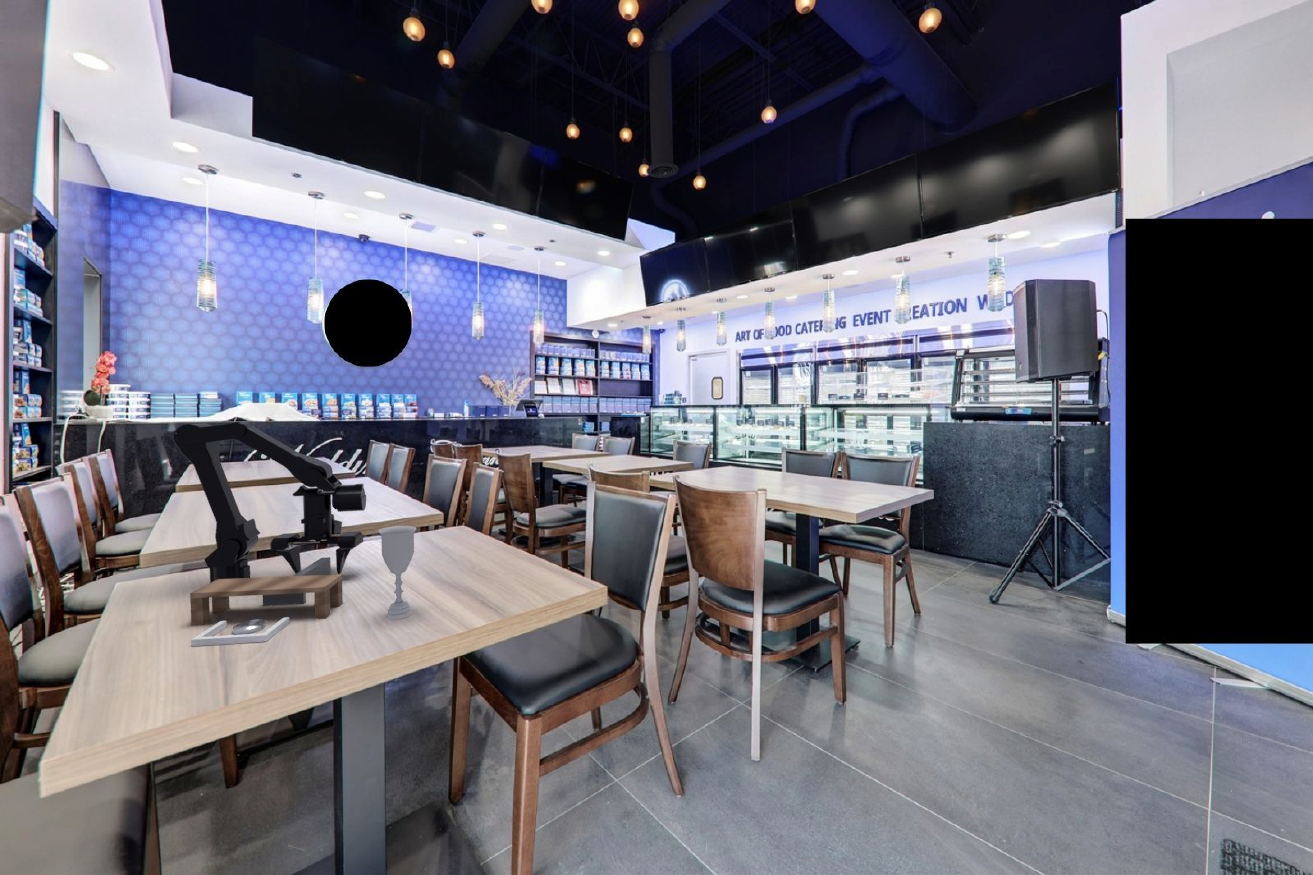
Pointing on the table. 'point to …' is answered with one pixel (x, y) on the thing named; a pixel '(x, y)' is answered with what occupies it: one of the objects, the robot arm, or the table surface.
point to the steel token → (249, 627)
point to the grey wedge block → (315, 568)
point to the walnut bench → (266, 593)
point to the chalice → (398, 563)
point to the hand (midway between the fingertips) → (319, 574)
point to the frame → (209, 639)
